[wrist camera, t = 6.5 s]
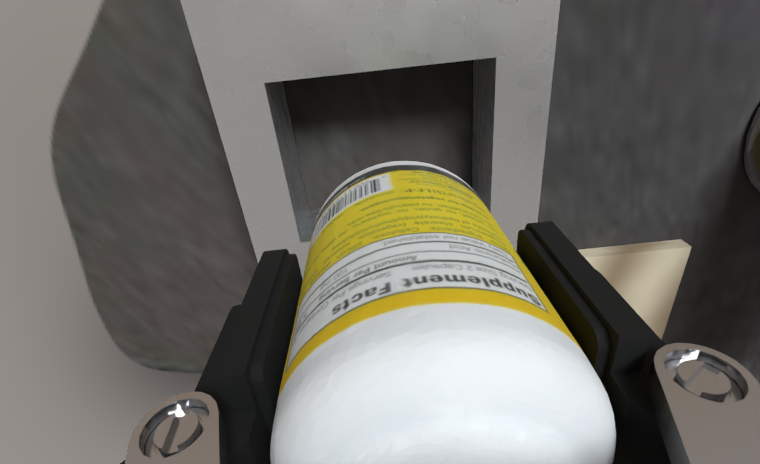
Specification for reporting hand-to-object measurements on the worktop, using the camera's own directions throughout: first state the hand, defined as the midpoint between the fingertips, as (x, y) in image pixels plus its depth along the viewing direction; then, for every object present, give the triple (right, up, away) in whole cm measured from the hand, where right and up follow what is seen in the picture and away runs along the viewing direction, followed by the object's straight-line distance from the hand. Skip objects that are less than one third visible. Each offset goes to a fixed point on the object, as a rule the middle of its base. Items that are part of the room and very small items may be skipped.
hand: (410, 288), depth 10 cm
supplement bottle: (0, +1, +2) cm, 3 cm away
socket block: (-1, +7, +12) cm, 14 cm away
